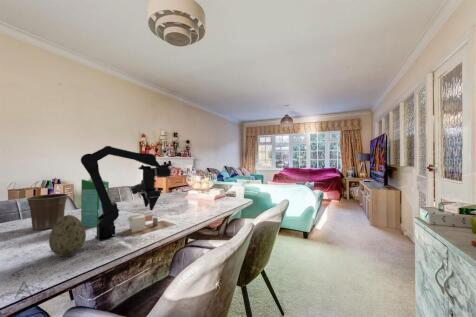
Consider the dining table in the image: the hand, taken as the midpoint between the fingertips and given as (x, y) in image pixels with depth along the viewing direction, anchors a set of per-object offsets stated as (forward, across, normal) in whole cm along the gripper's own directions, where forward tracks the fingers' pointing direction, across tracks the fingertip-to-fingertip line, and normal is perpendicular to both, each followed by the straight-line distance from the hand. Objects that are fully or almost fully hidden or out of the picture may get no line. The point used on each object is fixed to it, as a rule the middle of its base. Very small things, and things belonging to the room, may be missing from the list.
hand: (148, 208), depth 109 cm
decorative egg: (+11, +12, -32) cm, 36 cm away
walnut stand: (+11, +1, 0) cm, 11 cm away
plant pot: (+11, -35, -41) cm, 55 cm away
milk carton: (+11, -26, -21) cm, 36 cm away
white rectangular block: (+10, 0, -4) cm, 10 cm away
